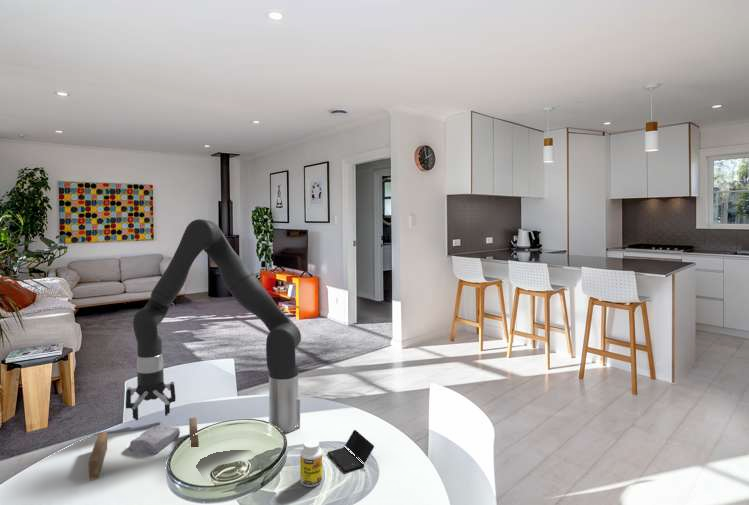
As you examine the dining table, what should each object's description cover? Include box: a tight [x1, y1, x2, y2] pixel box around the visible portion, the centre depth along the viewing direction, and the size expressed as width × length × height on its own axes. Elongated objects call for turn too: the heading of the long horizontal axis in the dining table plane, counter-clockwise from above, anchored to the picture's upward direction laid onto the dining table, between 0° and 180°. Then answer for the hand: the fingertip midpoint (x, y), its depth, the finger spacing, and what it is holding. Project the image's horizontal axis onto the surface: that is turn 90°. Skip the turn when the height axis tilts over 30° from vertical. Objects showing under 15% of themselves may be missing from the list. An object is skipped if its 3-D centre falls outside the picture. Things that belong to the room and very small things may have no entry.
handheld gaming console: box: [327, 429, 375, 474], centre depth 125 cm, size 12×7×10 cm
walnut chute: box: [88, 417, 200, 481], centre depth 126 cm, size 26×16×5 cm, turn 114°
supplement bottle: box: [299, 439, 323, 488], centre depth 114 cm, size 6×6×10 cm
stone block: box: [129, 424, 181, 455], centre depth 132 cm, size 12×5×10 cm
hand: (151, 417), depth 144 cm, fingers open, 8 cm apart
